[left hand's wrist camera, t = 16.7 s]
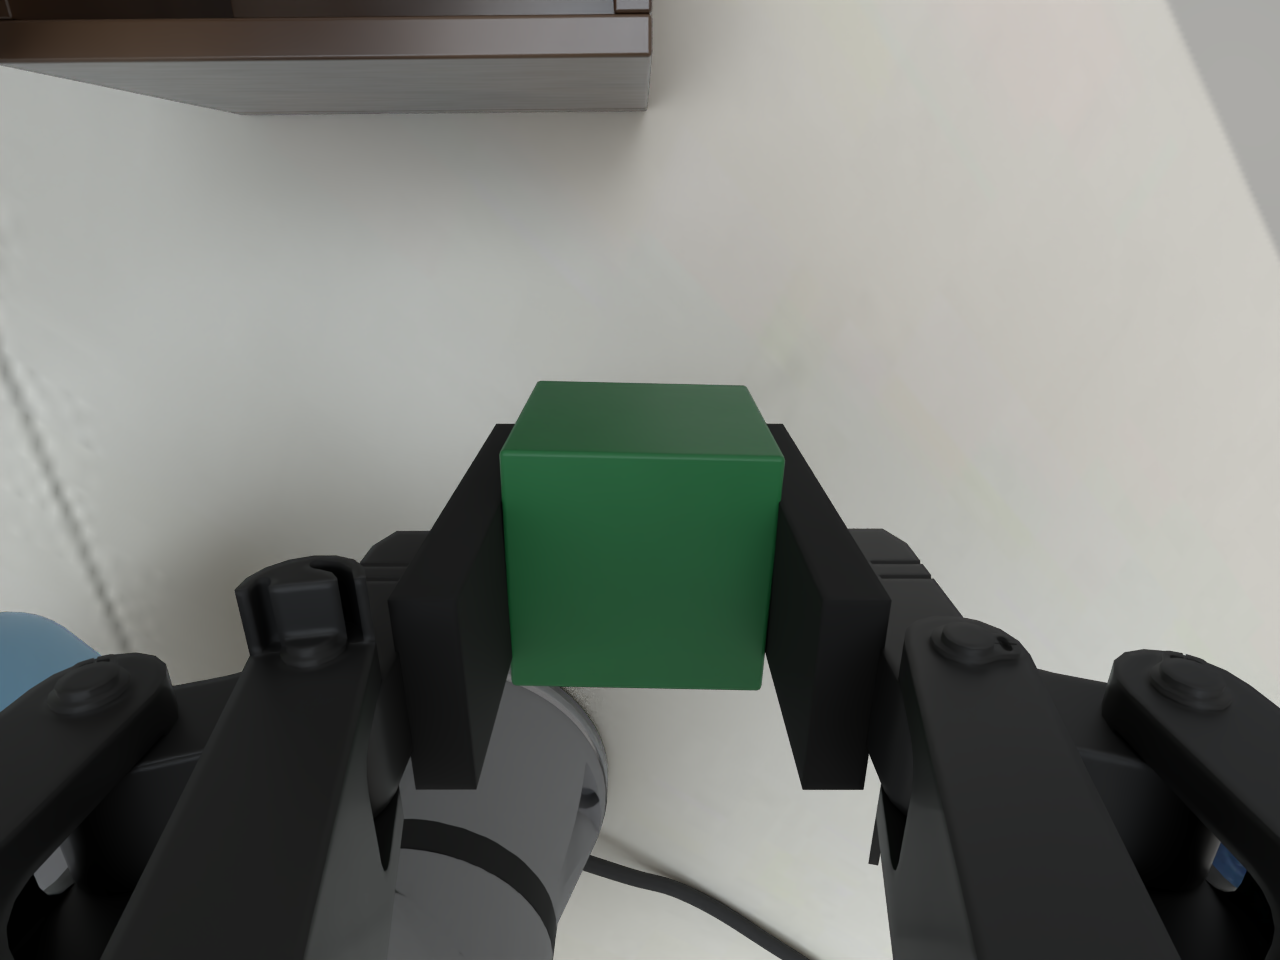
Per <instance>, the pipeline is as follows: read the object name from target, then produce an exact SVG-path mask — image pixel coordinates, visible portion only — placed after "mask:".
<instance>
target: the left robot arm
mask: <svg viewBox="0 0 1280 960" xmlns="http://www.w3.org/2000/svg"><path fill="white" fill-rule="evenodd" d="M514 425H515V424H496V425H495V427H494V429H493V430H492V432H491V433H490V435H489V437H488V438H487V440H486V442H485V443H484V445H483V446H482V448H481V450H480V451H479V453H478V454H477V456H476V458H475V459H474V461H473V463H472V464H471V466H470V467H469V469H468V471H467V472H466V474H465V475H464V477H463V479H462V480H461V482H460V484H459V485H458V487H457V488H456V490H455V492H454V493H453V495H452V496H451V498H450V500H449V501H448V503H447V505H446V506H445V508H444V509H443V511H442V513H441V514H440V516H439V517H438V519H437V521H436V522H435V524H434V526H433V527H432V529H431V530H430V531H396V532H395V533H393V534H391V535H390V536H388V537H386V538H385V539H383V540H381V541H380V542H378V543H377V544H375V545H373V546H372V547H371V549H370V550H369V551H368V553H367V554H366V555H365V557H364V558H363V559H362V561H361V562H360V564H359V563H358V562H356V561H355V560H354V559H349V558H345V557H340V556H309V557H303V558H297V559H291V560H287V561H284V562H281V563H278V564H275V565H272V566H269V567H266V568H264V569H262V570H261V571H259V572H257V573H255V574H253V575H251V576H249V577H248V578H246V579H245V580H244V581H243V582H242V583H241V584H240V585H239V586H238V587H237V588H236V589H235V594H236V599H237V603H238V607H239V611H240V615H241V619H242V624H243V628H244V632H245V636H246V640H247V645H248V649H249V653H250V657H249V659H248V661H247V663H246V665H245V667H244V669H243V671H242V672H240V673H236V674H232V675H228V676H224V677H218V678H213V679H208V680H203V681H197V682H192V683H187V684H182V685H176V686H172V684H171V680H170V677H169V673H168V670H167V666H166V664H165V663H164V662H163V661H161V660H160V659H159V658H157V657H156V656H153V655H147V654H141V653H126V654H115V655H114V654H110V655H104V656H101V655H100V654H99V653H97V652H96V651H95V650H94V649H92V648H91V647H90V646H88V645H87V644H86V643H84V642H83V641H82V640H80V639H79V638H78V637H77V636H75V635H74V634H73V633H71V632H70V631H69V630H67V629H66V628H65V627H63V626H61V625H60V624H58V623H56V622H54V621H52V620H50V619H47V618H45V617H42V616H39V615H35V614H29V613H22V612H0V960H553V955H554V946H555V938H556V931H557V923H558V921H559V919H560V917H561V915H562V913H563V911H564V909H565V906H566V904H567V902H568V900H569V898H570V896H571V894H572V892H573V890H574V887H575V885H576V883H577V881H578V879H579V877H580V875H581V873H582V870H583V871H586V872H589V873H593V874H596V875H599V876H602V877H605V878H608V879H611V880H615V881H618V882H621V883H624V884H628V885H631V886H635V887H639V888H643V889H647V890H652V891H656V892H660V893H663V894H667V895H670V896H673V897H675V898H678V899H680V900H682V901H684V902H687V903H689V904H691V905H693V906H695V907H697V908H699V909H701V910H703V911H705V912H707V913H708V914H710V915H712V916H714V917H715V918H717V919H719V920H720V921H722V922H724V923H725V924H727V925H729V926H730V927H732V928H733V929H735V930H737V931H738V932H740V933H741V934H743V935H744V936H746V937H747V938H749V939H750V940H752V941H753V942H755V943H757V944H758V945H760V946H761V947H763V948H764V949H766V950H767V951H769V952H771V953H772V954H774V955H775V956H777V957H779V958H780V959H782V960H809V959H808V958H806V957H805V956H803V955H802V954H800V953H799V952H797V951H796V950H794V949H792V948H791V947H789V946H788V945H786V944H784V943H783V942H781V941H780V940H778V939H776V938H775V937H773V936H772V935H770V934H769V933H767V932H766V931H764V930H763V929H761V928H760V927H758V926H757V925H755V924H753V923H752V922H750V921H749V920H747V919H746V918H744V917H743V916H741V915H740V914H738V913H737V912H735V911H733V910H732V909H730V908H729V907H727V906H725V905H724V904H722V903H720V902H718V901H717V900H715V899H713V898H711V897H709V896H708V895H706V894H704V893H702V892H700V891H698V890H696V889H694V888H692V887H689V886H687V885H685V884H683V883H680V882H678V881H675V880H672V879H669V878H666V877H662V876H658V875H654V874H650V873H646V872H642V871H638V870H635V869H631V868H628V867H625V866H622V865H619V864H616V863H613V862H610V861H607V860H604V859H601V858H598V857H595V856H592V855H590V853H591V851H592V849H593V847H594V845H595V843H596V840H597V838H598V835H599V832H600V829H601V825H602V822H603V819H604V815H605V810H606V804H607V788H608V765H607V758H606V753H605V749H604V746H603V743H602V740H601V738H600V736H599V734H598V732H597V730H596V727H595V726H594V724H593V723H592V721H591V720H590V718H589V716H588V715H587V714H586V713H585V711H584V710H583V709H582V708H581V706H580V705H579V704H578V703H577V702H576V701H575V700H574V699H573V698H572V697H571V696H570V695H569V694H567V693H566V692H565V691H564V690H563V689H562V688H560V687H559V686H516V685H513V683H512V681H511V661H512V646H511V633H510V620H509V607H508V593H507V578H506V563H505V548H504V532H503V513H502V494H501V476H500V457H499V454H500V451H501V449H502V447H503V446H504V444H505V442H506V440H507V438H508V436H509V434H510V433H511V431H512V429H513V427H514ZM767 426H768V428H769V430H770V432H771V434H772V436H773V437H774V439H775V441H776V443H777V445H778V447H779V449H780V450H781V452H782V454H783V456H784V459H785V467H784V476H783V486H782V495H781V501H780V502H779V510H778V522H777V534H776V546H775V557H774V567H773V578H772V589H771V600H770V609H769V619H768V628H767V638H766V647H765V653H766V657H767V660H768V664H769V668H770V671H771V675H772V679H773V682H774V686H775V690H776V693H777V697H778V701H779V704H780V708H781V712H782V715H783V719H784V723H785V726H786V730H787V734H788V737H789V741H790V745H791V748H792V752H793V756H794V759H795V763H796V767H797V770H798V774H799V778H800V781H801V785H802V789H803V790H863V789H864V783H865V776H866V769H867V763H868V756H869V755H870V757H871V760H872V762H873V764H874V767H875V769H876V772H877V774H878V777H879V779H880V782H881V788H880V794H879V800H878V807H877V813H876V819H875V825H874V831H873V838H872V844H871V850H870V857H869V863H868V864H873V865H878V863H879V858H880V853H881V861H882V870H883V878H884V887H885V895H886V903H887V912H888V920H889V928H890V937H891V945H892V954H893V960H1280V708H1279V707H1278V706H1276V705H1275V704H1274V703H1272V702H1271V701H1270V700H1269V699H1267V698H1266V697H1265V696H1263V695H1262V694H1261V693H1260V692H1258V691H1257V690H1256V689H1254V688H1253V687H1252V686H1250V685H1249V684H1247V683H1246V682H1244V681H1242V680H1241V679H1239V678H1238V677H1236V676H1234V675H1233V674H1231V673H1229V672H1228V671H1226V670H1224V669H1221V668H1219V667H1217V666H1214V665H1212V664H1209V663H1207V662H1206V661H1204V660H1203V659H1200V658H1197V657H1194V656H1191V655H1187V654H1186V656H1185V655H1183V653H1178V652H1173V651H1159V650H1147V649H1142V650H1136V651H1130V652H1125V653H1123V654H1122V655H1121V656H1119V657H1118V658H1117V659H1115V660H1114V663H1113V666H1112V670H1111V673H1110V676H1109V680H1108V683H1105V682H1099V681H1094V680H1089V679H1083V678H1078V677H1073V676H1068V675H1062V674H1057V673H1052V672H1048V671H1044V670H1040V669H1037V668H1036V666H1035V664H1034V662H1033V660H1032V658H1031V655H1030V654H1029V653H1028V652H1027V650H1026V649H1025V648H1024V647H1023V646H1022V644H1021V643H1020V642H1019V641H1018V640H1016V639H1015V638H1013V637H1012V636H1010V635H1009V634H1007V633H1006V632H1004V631H1002V630H1001V629H999V628H996V627H993V626H991V625H988V624H986V623H983V622H981V621H978V620H973V619H968V618H963V616H962V615H961V614H960V612H959V611H958V610H957V609H956V607H955V606H954V605H953V603H952V602H951V601H950V599H949V598H948V597H947V595H946V594H945V593H944V591H943V590H942V589H941V588H940V586H939V585H938V584H937V582H936V581H935V580H934V579H931V574H930V573H929V572H928V571H927V569H926V568H925V567H924V565H923V564H920V560H919V559H918V557H917V556H916V555H915V553H914V552H913V551H912V550H911V548H910V547H909V546H908V544H907V543H905V542H904V541H902V540H900V539H899V538H897V537H895V536H894V535H892V534H890V533H889V532H887V531H886V530H884V529H847V527H846V525H845V524H844V522H843V521H842V519H841V517H840V516H839V514H838V512H837V511H836V509H835V508H834V506H833V504H832V503H831V501H830V500H829V498H828V496H827V495H826V493H825V491H824V490H823V488H822V487H821V485H820V483H819V482H818V480H817V478H816V477H815V475H814V474H813V472H812V470H811V469H810V467H809V466H808V464H807V462H806V461H805V459H804V457H803V456H802V454H801V453H800V451H799V449H798V448H797V446H796V445H795V443H794V441H793V440H792V438H791V436H790V435H789V433H788V432H787V430H786V428H785V427H784V425H783V424H767ZM1220 843H1222V844H1223V845H1224V846H1225V847H1226V848H1227V849H1228V850H1229V851H1230V852H1231V854H1232V855H1233V856H1234V857H1235V858H1236V859H1237V860H1238V861H1239V862H1240V863H1241V864H1242V865H1243V866H1244V867H1245V869H1246V870H1247V871H1246V873H1245V876H1244V878H1243V880H1242V883H1241V884H1240V885H1239V887H1238V888H1236V887H1235V886H1233V885H1232V884H1231V883H1230V882H1229V881H1228V880H1227V879H1225V878H1224V877H1223V876H1222V874H1221V873H1220V872H1219V871H1218V870H1217V869H1216V868H1215V867H1214V865H1213V864H1212V863H1213V860H1214V858H1215V855H1216V853H1217V850H1218V848H1219V845H1220Z"/></svg>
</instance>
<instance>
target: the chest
mask: <svg viewBox="0 0 1280 960" xmlns="http://www.w3.org/2000/svg"><path fill="white" fill-rule="evenodd" d="M651 60H652V0H0V65H1V66H6V67H11V68H16V69H21V70H26V71H31V72H36V73H40V74H45V75H50V76H55V77H60V78H65V79H70V80H74V81H79V82H84V83H89V84H94V85H99V86H104V87H109V88H113V89H118V90H123V91H128V92H133V93H138V94H143V95H148V96H152V97H157V98H162V99H167V100H172V101H177V102H182V103H186V104H191V105H196V106H201V107H206V108H211V109H216V110H221V111H225V112H231V113H235V114H240V115H274V114H376V113H478V112H581V111H645V110H647V104H648V93H649V82H650V71H651Z"/></svg>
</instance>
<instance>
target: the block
mask: <svg viewBox="0 0 1280 960" xmlns="http://www.w3.org/2000/svg"><path fill="white" fill-rule="evenodd" d="M499 457H500V476H501V494H502V513H503V532H504V548H505V563H506V578H507V593H508V607H509V620H510V633H511V646H512V661H511V681H512V683H513V685H516V686H561V687H612V688H663V689H714V690H759V689H760V688H761V685H762V676H763V666H764V657H765V647H766V638H767V628H768V619H769V609H770V600H771V589H772V578H773V567H774V557H775V546H776V534H777V522H778V510H779V502H780V501H781V495H782V486H783V476H784V467H785V459H784V456H783V454H782V452H781V450H780V449H779V447H778V445H777V443H776V441H775V439H774V437H773V436H772V434H771V432H770V430H769V428H768V426H767V424H766V422H765V421H764V419H763V417H762V415H761V413H760V411H759V409H758V408H757V406H756V404H755V402H754V400H753V398H752V396H751V394H750V393H749V391H748V389H747V387H746V386H740V385H696V384H652V383H608V382H565V381H539V382H537V384H536V386H535V388H534V390H533V391H532V393H531V395H530V397H529V399H528V401H527V403H526V405H525V406H524V408H523V410H522V412H521V414H520V416H519V418H518V419H517V421H516V423H515V425H514V427H513V429H512V431H511V433H510V434H509V436H508V438H507V440H506V442H505V444H504V446H503V447H502V449H501V451H500V454H499Z"/></svg>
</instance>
